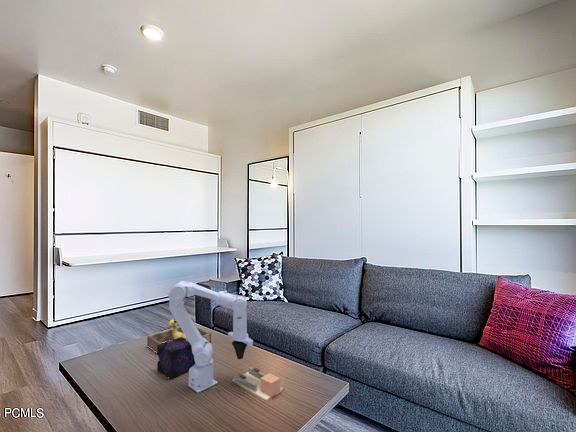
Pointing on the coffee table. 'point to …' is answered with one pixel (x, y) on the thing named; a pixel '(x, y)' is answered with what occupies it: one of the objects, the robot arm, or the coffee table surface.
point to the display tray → (170, 337)
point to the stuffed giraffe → (175, 330)
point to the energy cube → (175, 357)
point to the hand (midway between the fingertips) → (240, 358)
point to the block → (270, 384)
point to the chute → (253, 382)
